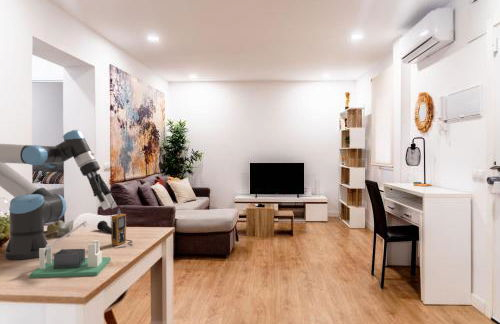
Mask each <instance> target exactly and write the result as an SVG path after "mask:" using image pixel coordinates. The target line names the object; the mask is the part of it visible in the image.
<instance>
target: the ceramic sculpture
mask: <svg viewBox="0 0 500 324" xmlns="http://www.w3.org/2000/svg"><path fill="white" fill-rule="evenodd" d="M73 229H74V220H73V219H72V220H69V221H68V222H64V221H63V220H61V219H57V220H56V221H52V222H49V223H48V225H47V227H46V230H44V235H45V238H50V239H51V238H59V237H62V236H64V235H66V234H67V233H69V232H70V231H72V230H73ZM68 236H71V234H69V235H68ZM68 236H67V237H68Z"/></svg>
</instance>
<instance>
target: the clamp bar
mask: <svg viewBox="0 0 500 324" xmlns="http://www.w3.org/2000/svg"><path fill="white" fill-rule="evenodd" d="M88 226H89V223H88V222H87V221H86V220H85V221H83V222H81V223H80V224H79V225H78V226H76V227H75V228H73V229H72V231H70V232H69V233H67V234H66V235H62V236H61V237H60V238H59V239H57V240H56V241H54V242H53V243H50V244H51V245H50V246H46V247H45V252H47V251H49V250H50V247H52V248H53V246H55V245H56V244H57V243H59V242H61V241H62V240H63V239H65V238H67V237H68V235H69V234H70V235H71V234H72V233H74V232H75V231H77V230H78V229H80V228H81V227H84V228H86V227H88ZM70 235H69V236H70Z"/></svg>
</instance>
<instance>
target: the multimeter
mask: <svg viewBox="0 0 500 324" xmlns="http://www.w3.org/2000/svg"><path fill="white" fill-rule="evenodd" d="M120 200H121V201H123V203H125V201H124V199H122V198H119V199H118V201H117V200H114V201H115V203H116V204H117V214H115V215H111V221H110V228H111V233H110V236H111V245H112V248H114V249H119V248H126V247H130V246H135V245H134V244H133V243H132V240H130V239H129V240H128V239H127V214H126V213H125V211H123V213H121V202H120ZM114 201H113V202H114ZM113 202H112V203H113ZM123 208H126V206H125V204H123ZM110 210H113V208H112V204H111V208H110ZM126 242H128V245H122V246H119V245H121V244H124V243H125V244H126ZM116 246H118V247H116Z"/></svg>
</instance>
